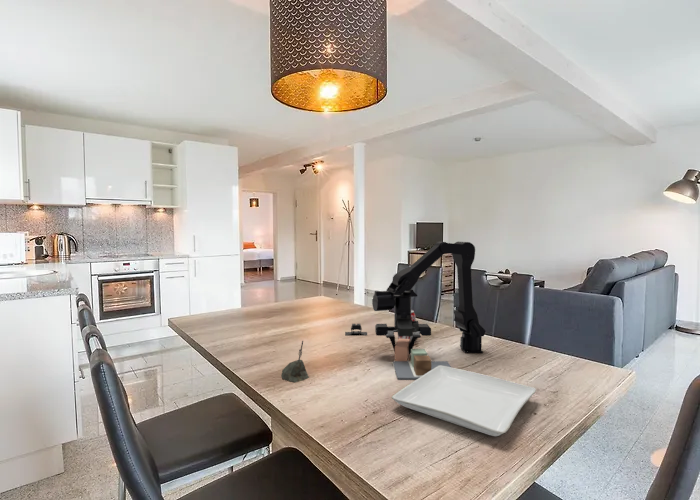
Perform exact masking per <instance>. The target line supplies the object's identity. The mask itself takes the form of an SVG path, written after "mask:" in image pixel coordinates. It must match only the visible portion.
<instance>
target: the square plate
mask: <svg viewBox="0 0 700 500" xmlns="http://www.w3.org/2000/svg"><path fill="white" fill-rule="evenodd" d="M536 391H537V389H536V387H534V386H530V385H526V384H522V383H518V382H514V381H510V380H506V379H503V378H499V377H495V376H492V375H487V374H482V373H479V372H475V371H470V370H465V369H460V368H455V367H453V366H451V367H447V366H442V365H439V366H437V367H435V368H434V369H432V370H430V371H429V372H427V373H426V374H424V375H423V376H421V377H420V378H418V379H417V380H413V381H412V382H410V383H409V384H408V385H406V386H404V387H403V388H402V389H400V390H398V391H397V392H396V393H394V394H393V395H392V396H391V399H392V400H393V401H395V403H397V404H398V405H400V406H403V407H404V408H407V409H411V410H413V411H416V412H419V413H422V414H424V415H428V416H430V417H433V418H435V419H438V420H439V419H440V420H441V421H445V422H448V423H451V424H454V425H457V426H460V427H462V428H465V429H469V430H471V431H475V432H479V433H483V434H485V435H488V436H490V437H491V436H492V437H498V436H501V435H503V434H505V433H507V432H508V430H509V429H510V427H511V426H512V424H513V422H514V420H515V418H516V417H517V415H518V413H519V412H520V411H521V409H522V408H523V406H524V405H525V404H526V403H527V402H528V400H530V399H531V398H532V397H533V395H534V394H535V392H536Z"/></svg>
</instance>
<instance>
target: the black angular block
mask: <svg viewBox="0 0 700 500" xmlns="http://www.w3.org/2000/svg"><path fill="white" fill-rule="evenodd" d="M354 330H355V331H354ZM362 330H363V328H362V325H361V323H351V327H350V331H345V334H344V335H345V336H347V337H348V336H349V337H351V336H355V337H357V336H358V337H359V336H360V337H361V336H362V337H363V336H365V337H366V336H368V331H362Z"/></svg>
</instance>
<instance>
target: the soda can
mask: <svg viewBox="0 0 700 500" xmlns="http://www.w3.org/2000/svg"><path fill="white" fill-rule="evenodd" d="M416 318H417V317H416V314H415V311H414V310H413V309H411V320H412V321H417V320H416ZM399 338H401V339H410V337H409V336H403V337H401V336H398V335H397V340H398V339H399Z"/></svg>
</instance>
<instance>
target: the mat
mask: <svg viewBox="0 0 700 500" xmlns="http://www.w3.org/2000/svg"><path fill="white" fill-rule="evenodd" d="M392 365H393V368H394V372H395V375H396V379H397V381H399V380H400V381H405V380H406V381H407V380H408V381H409V380H410V381H411V380H413V381H415V380H417V379H418V378H420V377H421V376H423V375H416V374H415V371H414V367H412V364H411V360H407V361H395V360H392ZM439 365H442V366H447V367H452V366H451V364H450V363H449V362H448V360H434V361H433V360H431V370H432V369H434V368H435V367H437V366H439Z"/></svg>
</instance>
